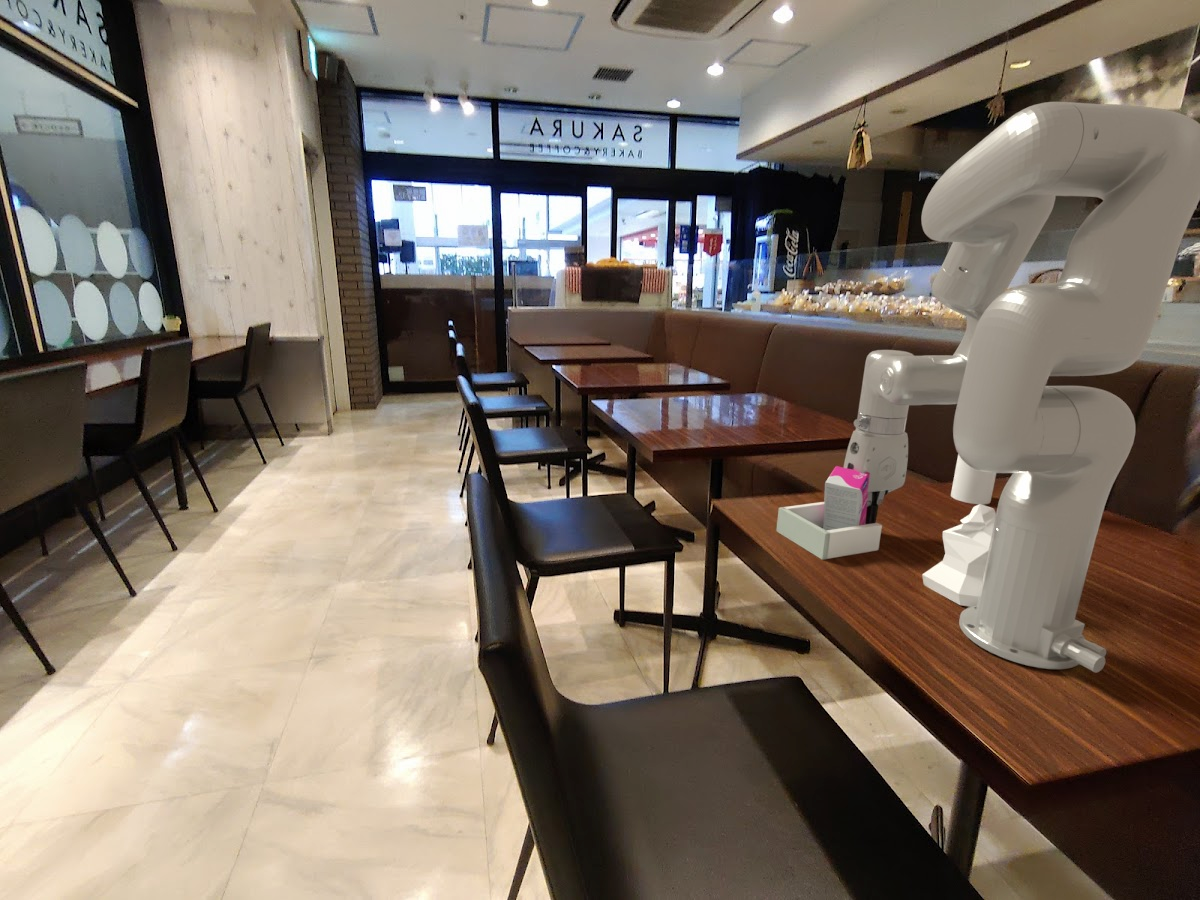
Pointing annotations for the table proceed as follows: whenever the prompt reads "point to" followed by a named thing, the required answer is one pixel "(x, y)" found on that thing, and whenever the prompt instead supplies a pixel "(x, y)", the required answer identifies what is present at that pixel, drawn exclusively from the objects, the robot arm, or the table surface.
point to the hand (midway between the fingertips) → (864, 523)
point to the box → (825, 532)
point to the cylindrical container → (972, 484)
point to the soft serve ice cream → (963, 558)
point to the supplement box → (845, 498)
